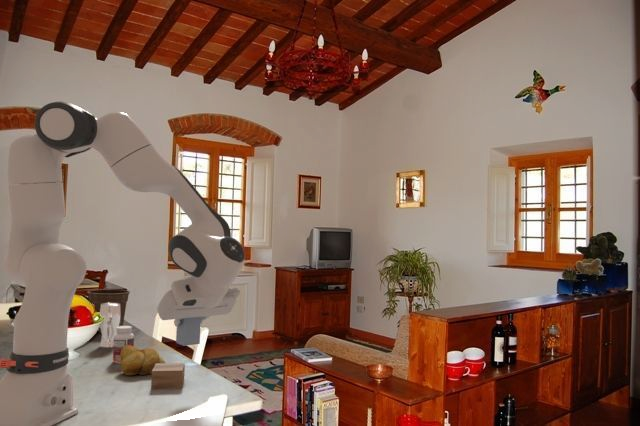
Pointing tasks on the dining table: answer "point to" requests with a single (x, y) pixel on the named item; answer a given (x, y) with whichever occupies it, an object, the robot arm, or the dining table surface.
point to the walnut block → (167, 375)
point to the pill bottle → (121, 341)
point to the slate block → (189, 331)
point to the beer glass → (109, 323)
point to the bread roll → (138, 360)
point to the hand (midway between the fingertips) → (187, 323)
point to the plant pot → (110, 300)
